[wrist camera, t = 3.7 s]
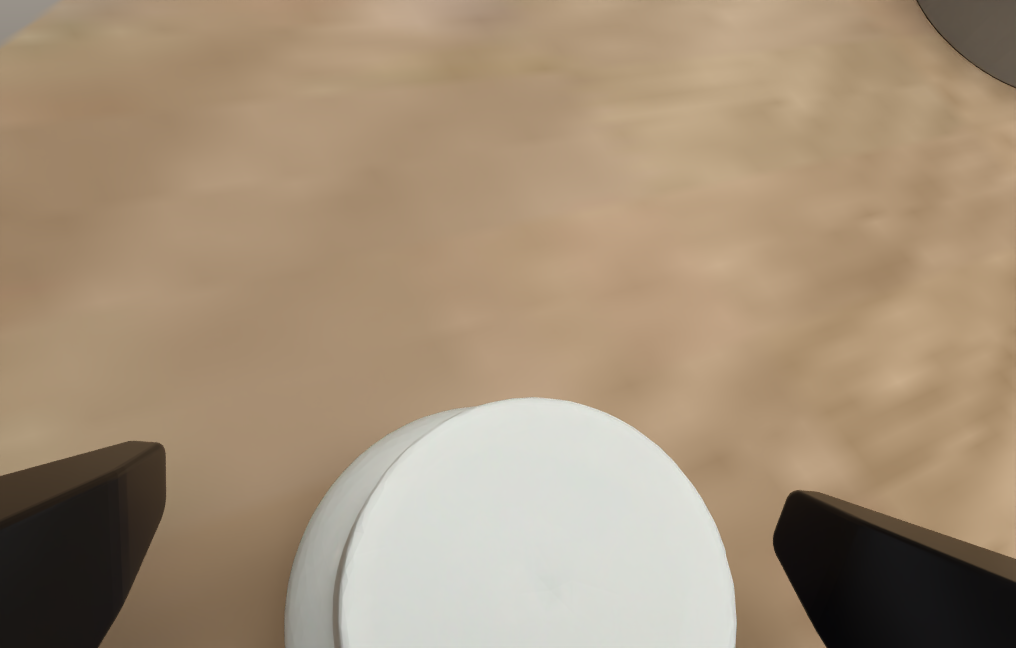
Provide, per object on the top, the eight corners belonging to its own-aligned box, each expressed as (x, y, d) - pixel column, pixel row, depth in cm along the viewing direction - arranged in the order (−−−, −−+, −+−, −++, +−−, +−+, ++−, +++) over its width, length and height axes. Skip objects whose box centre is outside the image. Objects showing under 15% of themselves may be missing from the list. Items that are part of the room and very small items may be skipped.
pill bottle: (593, 575, 16) (875, 523, 7) (464, 804, 14) (657, 1121, 5) (412, 441, 17) (482, 243, 8) (257, 643, 14) (108, 680, 5)
